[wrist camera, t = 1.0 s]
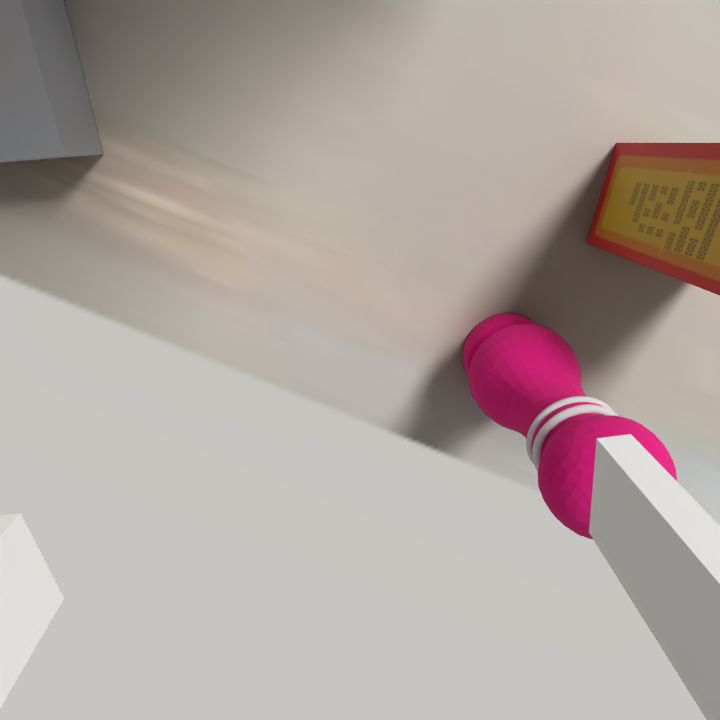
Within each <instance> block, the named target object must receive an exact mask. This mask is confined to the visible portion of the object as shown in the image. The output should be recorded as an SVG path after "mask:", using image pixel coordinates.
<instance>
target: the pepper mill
mask: <svg viewBox="0 0 720 720" xmlns="http://www.w3.org/2000/svg"><path fill="white" fill-rule="evenodd" d="M463 364H464V367H465V370H466V372H467V374H468V376H469V386H470V391H471V393H472V396H473V398H474V400H475V401H476V403H477V404H478V406H479V407H480V408H481V409H482V411H483V412H484V413H485V414H486V415H487V416H488V417H489V418H491V419H492V420H494V421H495V422H496V423H498V424H500V425H501V426H503V427H506V428H508V429H511V430H514V431H517V432H519V433H521V434H522V435H524V436H525V437H526V438H527V439H526V447H527V453H528V455H529V458H530V460H531V461H532V463H533V464H534V465H535V467H536V469H537V471H538V485H539V489H540V491H541V494H542V497H543V499H544V501H545V503H546V504H547V506H548V507H549V509H550V511H551V512H552V513H553V514H554V516H555V517H556V518H557V519H558V520H559V521H560V522H561V523H563V524H564V525H565V526H566V527H568V528H569V529H571V530H572V531H574V532H575V533H577V534H579V535H581V536H584V537H587V538H590V539H593V538H592V536H591V535H590V533H589V526H590V514H591V502H592V489H593V477H594V465H595V453H596V441H597V438H604V437H612V436H620V435H628V434H631V435H632V436H633V437H634V438H635V439H636V440H637V441H638V442H639V443H640V444H641V445H642V446H643V447H644V448H645V449H646V450H647V451H648V452H649V453H650V454H651V455H652V456H653V457H654V458H655V459H656V460H657V462H658V463H659V464H660V465H661V466H662V467H663V468H664V469H665V470H666V471H667V472H668V473H669V474H670V475H671V476H672V477H673V478H674V479H675V480H676V481H677V477H676V469H675V466H674V463H673V460H672V458H671V456H670V454H669V452H668V451H667V449H666V448H665V446H664V445H663V443H662V442H661V441H660V440H659V439H658V438H657V437H656V436H655V435H654V434H653V433H652V432H651V431H649V430H648V429H647V428H645V427H644V426H643V425H641V424H639V423H637V422H635V421H633V420H630V419H627V418H623V417H620V416H619V415H618V414H616V413H615V412H614V411H613V410H612V409H611V408H610V407H609V406H608V405H607V404H605V403H604V402H602V401H600V400H598V399H595V398H591V397H587V396H586V395H585V394H584V392H583V390H582V388H581V372H580V367H579V364H578V361H577V358H576V356H575V354H574V352H573V350H572V349H571V348H570V346H569V345H568V344H567V343H566V342H565V340H564V339H563V338H562V337H561V336H559V335H558V334H557V333H555V332H554V331H552V330H550V329H548V328H546V327H543V326H539V325H536V324H535V323H534V322H532V321H531V320H530V319H528V318H527V317H524V316H522V315H518V314H513V313H505V314H499V315H495V316H492V317H490V318H488V319H486V320H484V321H483V322H481V323H480V324H478V325H477V326H476V327H475V328H474V329H473V331H472V332H471V333H470V335H469V336H468V338H467V340H466V342H465V345H464V348H463Z"/></svg>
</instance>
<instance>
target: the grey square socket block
mask: <svg viewBox="0 0 720 720" xmlns="http://www.w3.org/2000/svg"><path fill="white" fill-rule="evenodd" d="M91 155H103V151H102V147H101V143H100V139H99V135H98V131H97V127H96V123H95V119H94V115H93V112H92V108H91V104H90V100H89V96H88V92H87V88H86V84H85V80H84V76H83V72H82V69H81V65H80V61H79V57H78V53H77V49H76V45H75V41H74V37H73V33H72V30H71V26H70V22H69V18H68V14H67V10H66V6H65V2H64V0H0V163H6V162H18V161H30V160H42V159H54V158H66V157H79V156H91Z"/></svg>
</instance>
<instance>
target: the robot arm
mask: <svg viewBox="0 0 720 720" xmlns="http://www.w3.org/2000/svg"><path fill="white" fill-rule="evenodd" d="M589 533H590V535H591V536H592V538H593V540H594V541H595V543H596V544H597V546H598V547H599V549H600V551H601V552H602V554H603V555H604V557H605V558H606V560H607V561H608V563H609V565H610V566H611V568H612V570H613V571H614V573H615V574H616V576H617V578H618V579H619V581H620V582H621V584H622V586H623V587H624V589H625V590H626V592H627V594H628V595H629V597H630V598H631V600H632V602H633V603H634V604H635V606H636V608H637V609H638V611H639V613H640V614H641V616H642V617H643V619H644V621H645V622H646V624H647V625H648V627H649V629H650V630H651V632H652V633H653V635H654V636H655V638H656V640H657V641H658V643H659V644H660V646H661V647H662V649H663V651H664V652H665V654H666V656H667V657H668V659H669V660H670V662H671V663H672V665H673V667H674V668H675V670H676V671H677V673H678V675H679V676H680V678H681V679H682V681H683V683H684V684H685V686H686V687H687V689H688V690H689V692H690V694H691V695H692V697H693V698H694V700H695V701H696V703H697V705H698V706H699V708H700V710H701V711H702V713H703V714H704V716H705V718H706V719H707V720H720V525H719V524H718V523H717V522H716V521H715V520H714V519H713V518H712V517H711V516H710V515H709V514H708V513H707V512H706V511H705V510H704V509H703V508H702V507H701V506H700V505H699V504H698V503H697V502H696V501H695V500H694V499H693V498H692V497H691V496H690V494H689V493H688V492H687V491H686V490H685V489H684V488H683V487H682V486H681V485H680V484H679V483H678V482H677V481H676V480H675V479H674V478H673V477H672V476H671V475H670V474H669V473H668V472H667V471H666V470H665V469H664V468H663V467H662V466H661V465H660V464H659V463H658V462H657V460H656V459H655V458H654V457H653V456H652V455H651V454H650V453H649V452H648V451H647V450H646V449H645V448H644V447H643V446H642V445H641V444H640V443H639V442H638V441H637V440H636V439H635V438H634V437H633V436H632V435H631V434H628V435H620V436H612V437H604V438H597V441H596V453H595V465H594V477H593V489H592V502H591V514H590V526H589ZM63 600H64V597H63V595H62V593H61V591H60V589H59V587H58V585H57V583H56V581H55V579H54V577H53V575H52V573H51V572H50V570H49V568H48V566H47V564H46V562H45V560H44V558H43V556H42V554H41V552H40V550H39V548H38V546H37V544H36V542H35V541H34V539H33V537H32V535H31V533H30V531H29V529H28V527H27V525H26V523H25V521H24V519H23V517H22V515H21V513H15V514H6V515H0V709H1V707H2V705H3V704H4V702H5V700H6V698H7V697H8V695H9V693H10V691H11V690H12V688H13V686H14V685H15V683H16V681H17V679H18V678H19V676H20V674H21V673H22V671H23V669H24V667H25V666H26V663H27V662H28V660H29V659H30V657H31V655H32V653H33V652H34V650H35V648H36V647H37V645H38V643H39V642H40V640H41V638H42V636H43V635H44V633H45V631H46V630H47V628H48V626H49V624H50V622H51V621H52V619H53V617H54V616H55V614H56V612H57V611H58V609H59V607H60V605H61V604H62V602H63Z"/></svg>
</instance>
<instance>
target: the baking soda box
mask: <svg viewBox="0 0 720 720" xmlns="http://www.w3.org/2000/svg"><path fill="white" fill-rule="evenodd" d="M586 243H589V244H591V245H594V246H596V247H599V248H601V249H604V250H606V251H609V252H611V253H614V254H616V255H619V256H621V257H624V258H626V259H629V260H632V261H634V262H637V263H639V264H642V265H644V266H647V267H649V268H652V269H654V270H657V271H659V272H662V273H664V274H667V275H669V276H672V277H675V278H677V279H680V280H682V281H685V282H687V283H690V284H692V285H695V286H697V287H700V288H702V289H705V290H707V291H710V292H712V293H715V294H718V295H720V143H616V146H615V149H614V153H613V156H612V159H611V163H610V166H609V169H608V172H607V176H606V179H605V182H604V186H603V189H602V192H601V196H600V199H599V202H598V206H597V209H596V212H595V216H594V219H593V222H592V225H591V229H590V232H589V235H588V239H587V242H586Z"/></svg>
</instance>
